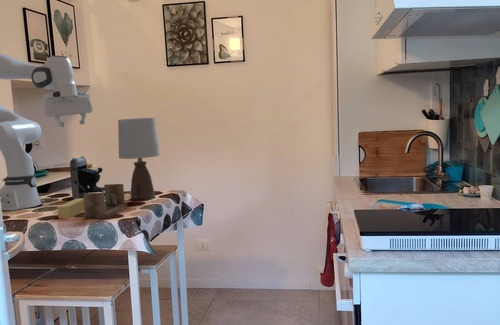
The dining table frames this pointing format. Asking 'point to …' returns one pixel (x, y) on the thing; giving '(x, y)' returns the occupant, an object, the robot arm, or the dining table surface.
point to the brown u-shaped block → (96, 202)
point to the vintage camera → (83, 178)
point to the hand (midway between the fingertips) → (72, 125)
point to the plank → (71, 208)
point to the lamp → (139, 152)
